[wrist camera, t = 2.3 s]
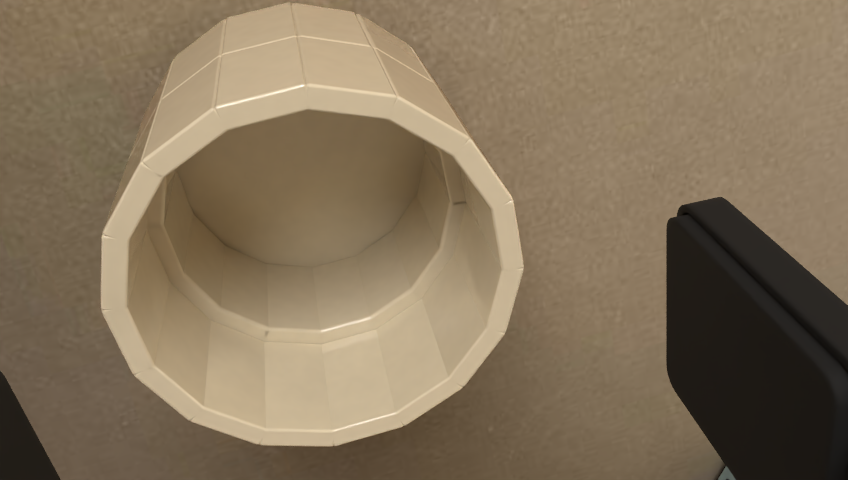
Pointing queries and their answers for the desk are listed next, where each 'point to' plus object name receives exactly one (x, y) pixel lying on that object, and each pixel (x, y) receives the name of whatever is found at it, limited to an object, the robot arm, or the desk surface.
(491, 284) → the beige cup
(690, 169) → the desk surface
